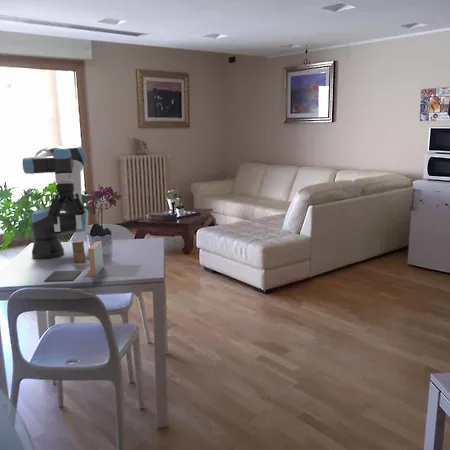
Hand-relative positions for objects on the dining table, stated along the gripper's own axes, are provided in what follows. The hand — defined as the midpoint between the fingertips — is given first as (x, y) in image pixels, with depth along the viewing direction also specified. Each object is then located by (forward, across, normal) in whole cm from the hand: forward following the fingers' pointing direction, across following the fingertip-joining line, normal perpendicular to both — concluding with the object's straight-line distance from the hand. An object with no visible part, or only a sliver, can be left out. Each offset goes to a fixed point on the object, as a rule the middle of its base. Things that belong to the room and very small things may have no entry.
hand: (68, 230), depth 212 cm
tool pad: (+20, -11, -5) cm, 23 cm away
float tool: (+17, +8, -1) cm, 18 cm away
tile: (+19, 0, -15) cm, 24 cm away
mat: (+19, +3, -21) cm, 29 cm away
